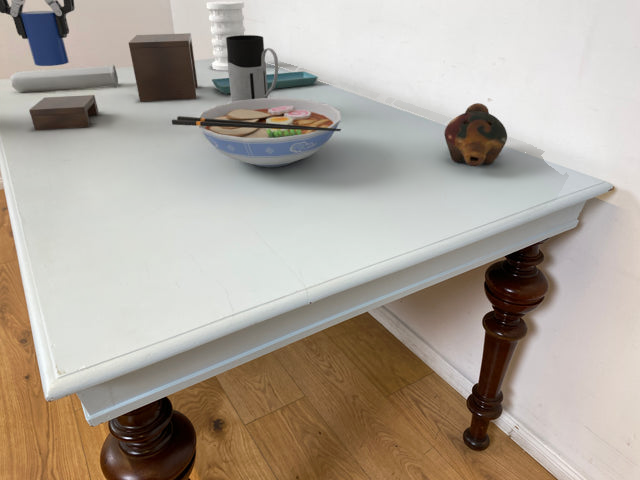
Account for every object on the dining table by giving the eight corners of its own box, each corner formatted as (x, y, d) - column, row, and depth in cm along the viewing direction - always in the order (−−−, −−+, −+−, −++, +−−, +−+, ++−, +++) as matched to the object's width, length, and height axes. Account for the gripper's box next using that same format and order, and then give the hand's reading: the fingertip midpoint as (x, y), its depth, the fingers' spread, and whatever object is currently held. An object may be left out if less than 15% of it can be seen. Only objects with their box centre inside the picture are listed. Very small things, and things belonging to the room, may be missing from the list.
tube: (5, 78, 118) (113, 71, 123) (8, 67, 121) (113, 61, 126) (14, 97, 122) (118, 90, 127) (17, 86, 125) (118, 79, 130)
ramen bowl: (356, 142, 87) (358, 96, 82) (333, 194, 67) (334, 137, 63) (226, 134, 91) (221, 90, 87) (169, 181, 72) (160, 127, 68)
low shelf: (35, 130, 94) (28, 109, 92) (49, 116, 103) (44, 97, 101) (88, 126, 96) (83, 106, 94) (99, 113, 104) (94, 94, 102)
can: (30, 66, 90) (15, 14, 86) (40, 60, 96) (26, 11, 91) (64, 65, 91) (51, 13, 87) (72, 59, 97) (60, 10, 92)
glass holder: (254, 104, 110) (248, 33, 102) (295, 116, 101) (293, 40, 94) (222, 111, 105) (214, 37, 97) (263, 125, 96) (257, 45, 88)
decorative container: (204, 67, 148) (196, 3, 139) (233, 62, 156) (227, 0, 147) (229, 72, 142) (222, 4, 133) (257, 66, 150) (253, 2, 140)
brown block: (139, 101, 113) (128, 42, 106) (146, 89, 124) (136, 35, 117) (196, 98, 115) (188, 40, 108) (197, 86, 126) (190, 33, 119)
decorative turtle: (494, 145, 84) (505, 100, 80) (507, 185, 72) (521, 134, 68) (438, 139, 86) (446, 95, 81) (441, 178, 73) (451, 128, 69)
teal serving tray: (304, 78, 133) (304, 69, 132) (318, 85, 126) (318, 75, 125) (212, 89, 123) (210, 79, 122) (222, 96, 116) (221, 86, 115)
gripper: (67, -66, 87) (89, 34, 96) (-20, -67, 85) (11, 36, 93) (55, -68, 81) (80, 39, 89) (-39, -69, 78) (-4, 41, 87)
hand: (45, 37), depth 91 cm, fingers closed on can, 6 cm apart
